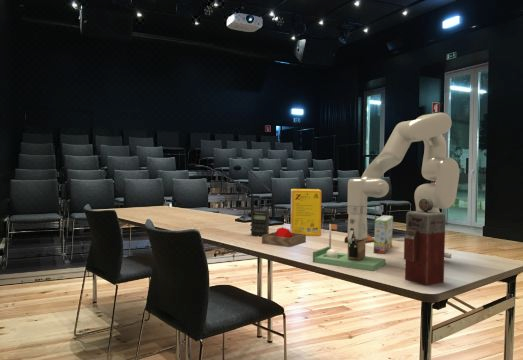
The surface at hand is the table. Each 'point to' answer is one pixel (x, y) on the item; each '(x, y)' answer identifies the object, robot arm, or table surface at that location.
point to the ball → (332, 253)
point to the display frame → (284, 239)
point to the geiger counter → (259, 223)
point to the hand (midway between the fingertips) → (356, 255)
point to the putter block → (359, 250)
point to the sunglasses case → (368, 239)
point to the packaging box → (306, 211)
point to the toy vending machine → (424, 245)
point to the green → (346, 258)
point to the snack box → (383, 234)
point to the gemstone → (283, 233)
